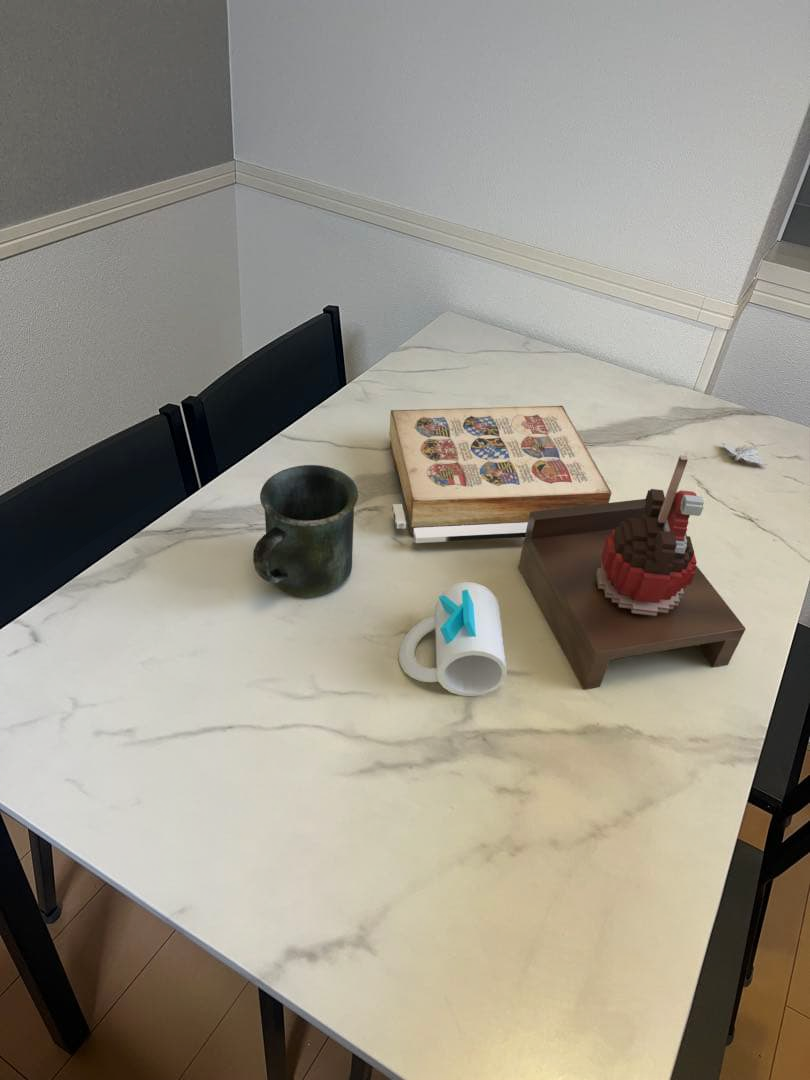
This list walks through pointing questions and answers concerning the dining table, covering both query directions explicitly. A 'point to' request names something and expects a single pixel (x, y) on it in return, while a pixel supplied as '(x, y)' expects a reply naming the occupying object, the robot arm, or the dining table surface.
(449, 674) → the mug
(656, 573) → the cake
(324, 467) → the mug
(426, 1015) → the dining table surface
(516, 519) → the book
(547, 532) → the shelf
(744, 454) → the flower
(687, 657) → the dining table surface
